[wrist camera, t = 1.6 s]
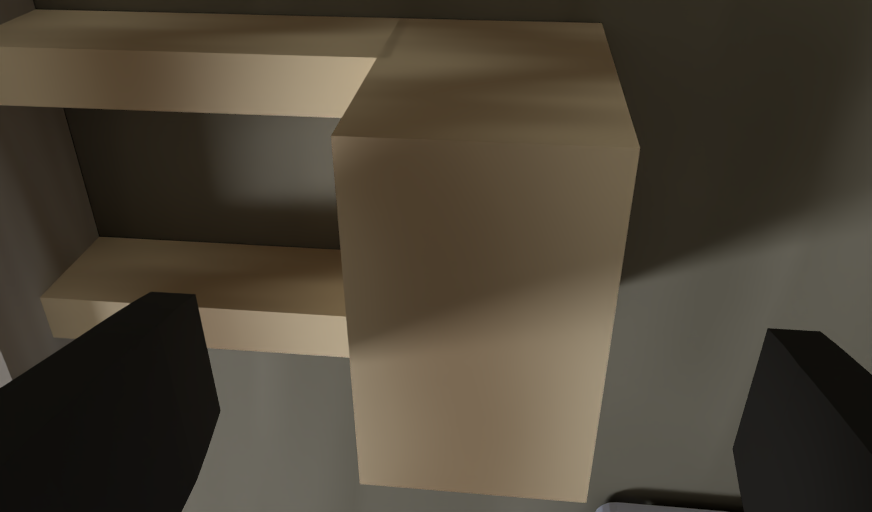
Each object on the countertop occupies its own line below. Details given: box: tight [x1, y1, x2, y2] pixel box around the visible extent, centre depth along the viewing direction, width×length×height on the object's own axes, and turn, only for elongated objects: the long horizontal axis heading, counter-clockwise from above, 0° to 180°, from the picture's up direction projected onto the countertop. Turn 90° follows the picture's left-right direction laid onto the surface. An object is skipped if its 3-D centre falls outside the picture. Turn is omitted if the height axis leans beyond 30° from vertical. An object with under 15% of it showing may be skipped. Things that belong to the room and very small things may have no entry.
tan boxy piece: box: [0, 0, 640, 503], centre depth 13 cm, size 12×9×6 cm
